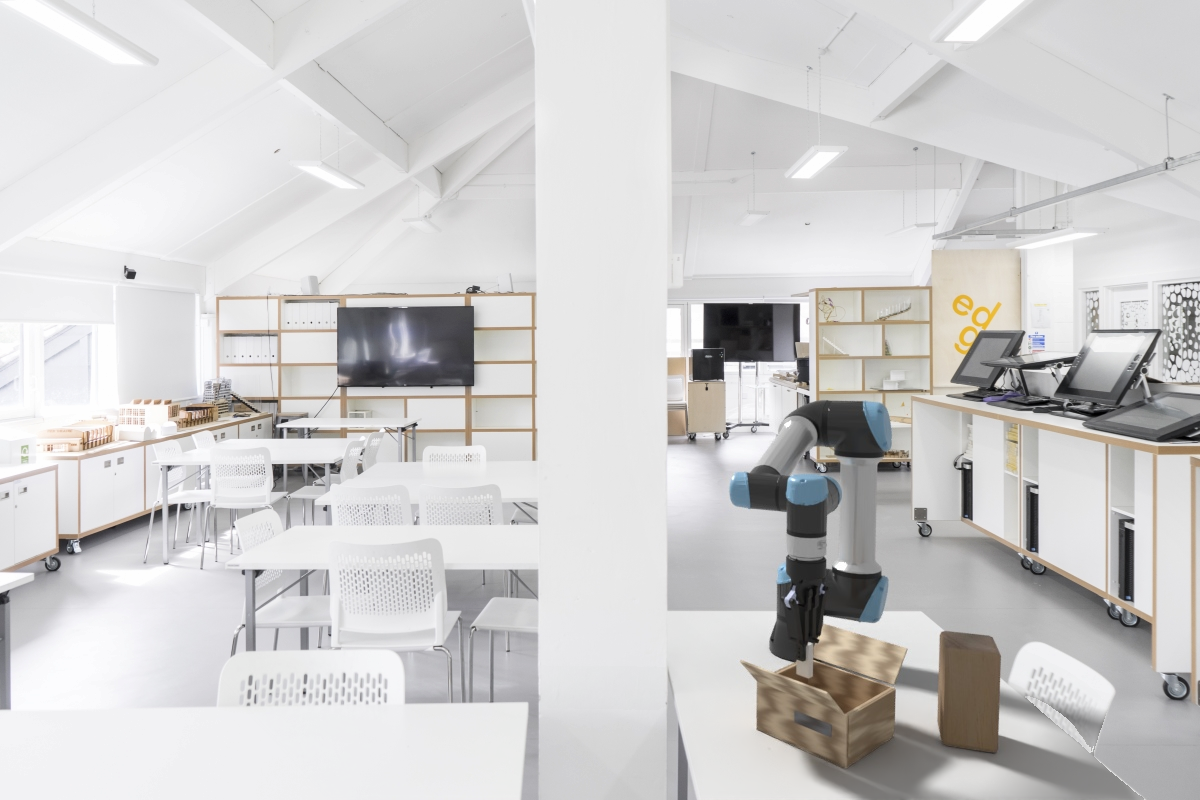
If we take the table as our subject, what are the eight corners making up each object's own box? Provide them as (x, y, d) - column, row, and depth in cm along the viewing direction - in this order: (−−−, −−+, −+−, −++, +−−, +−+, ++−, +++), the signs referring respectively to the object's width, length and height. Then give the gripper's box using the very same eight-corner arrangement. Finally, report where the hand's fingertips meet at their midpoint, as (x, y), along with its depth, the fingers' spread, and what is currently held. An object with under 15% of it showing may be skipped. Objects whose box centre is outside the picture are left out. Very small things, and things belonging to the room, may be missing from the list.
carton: (754, 728, 156) (754, 680, 156) (804, 702, 168) (805, 657, 168) (847, 770, 141) (848, 717, 140) (896, 737, 153) (897, 688, 152)
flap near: (757, 681, 155) (739, 661, 151) (758, 679, 155) (740, 659, 151) (842, 714, 140) (826, 693, 136) (843, 712, 141) (827, 691, 137)
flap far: (809, 656, 167) (823, 623, 170) (810, 656, 167) (824, 624, 171) (893, 684, 153) (907, 648, 156) (894, 685, 153) (907, 649, 156)
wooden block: (990, 731, 155) (993, 634, 154) (998, 755, 146) (1001, 652, 145) (936, 723, 159) (939, 628, 157) (941, 746, 149) (944, 646, 148)
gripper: (803, 566, 140) (801, 691, 142) (842, 553, 149) (840, 671, 151) (769, 557, 146) (768, 678, 148) (808, 546, 155) (807, 660, 156)
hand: (804, 675), depth 149 cm, fingers closed
